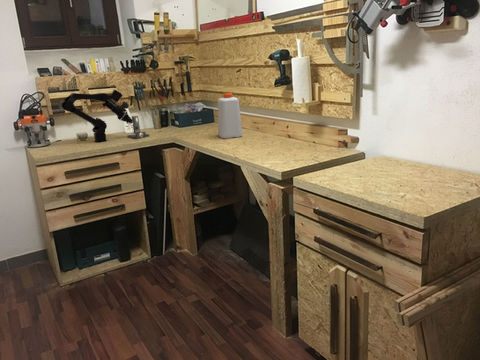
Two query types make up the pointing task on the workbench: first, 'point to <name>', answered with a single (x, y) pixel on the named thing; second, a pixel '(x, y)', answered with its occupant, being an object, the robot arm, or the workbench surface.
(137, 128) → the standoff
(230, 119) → the plastic bottle
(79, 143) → the workbench surface
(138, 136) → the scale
